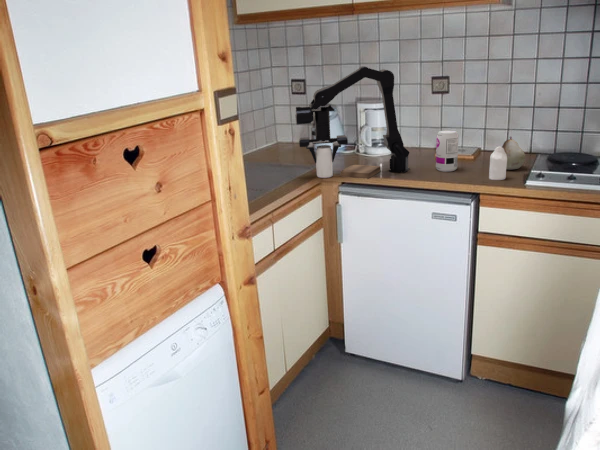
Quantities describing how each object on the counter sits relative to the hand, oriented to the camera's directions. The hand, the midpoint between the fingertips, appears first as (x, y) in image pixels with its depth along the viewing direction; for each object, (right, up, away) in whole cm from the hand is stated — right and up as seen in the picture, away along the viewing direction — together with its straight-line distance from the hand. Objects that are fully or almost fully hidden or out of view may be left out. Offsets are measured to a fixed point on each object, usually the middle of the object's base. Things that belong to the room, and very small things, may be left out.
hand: (324, 162), depth 216 cm
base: (+15, -4, +2) cm, 16 cm away
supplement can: (+49, -3, +1) cm, 49 cm away
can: (0, -5, +2) cm, 6 cm away
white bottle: (+63, -8, -16) cm, 65 cm away
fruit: (+73, -3, -4) cm, 73 cm away
